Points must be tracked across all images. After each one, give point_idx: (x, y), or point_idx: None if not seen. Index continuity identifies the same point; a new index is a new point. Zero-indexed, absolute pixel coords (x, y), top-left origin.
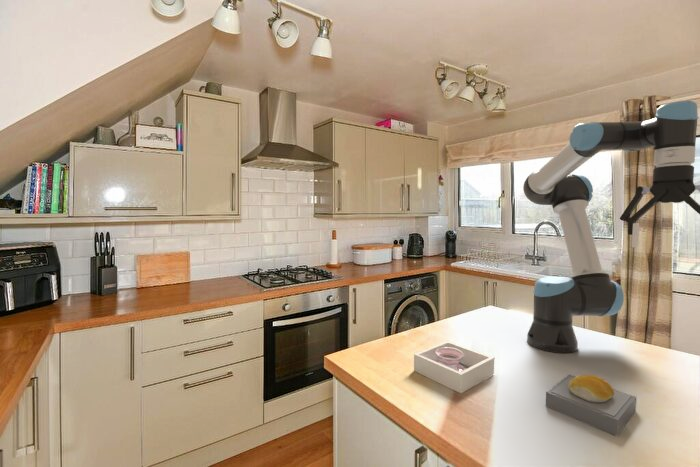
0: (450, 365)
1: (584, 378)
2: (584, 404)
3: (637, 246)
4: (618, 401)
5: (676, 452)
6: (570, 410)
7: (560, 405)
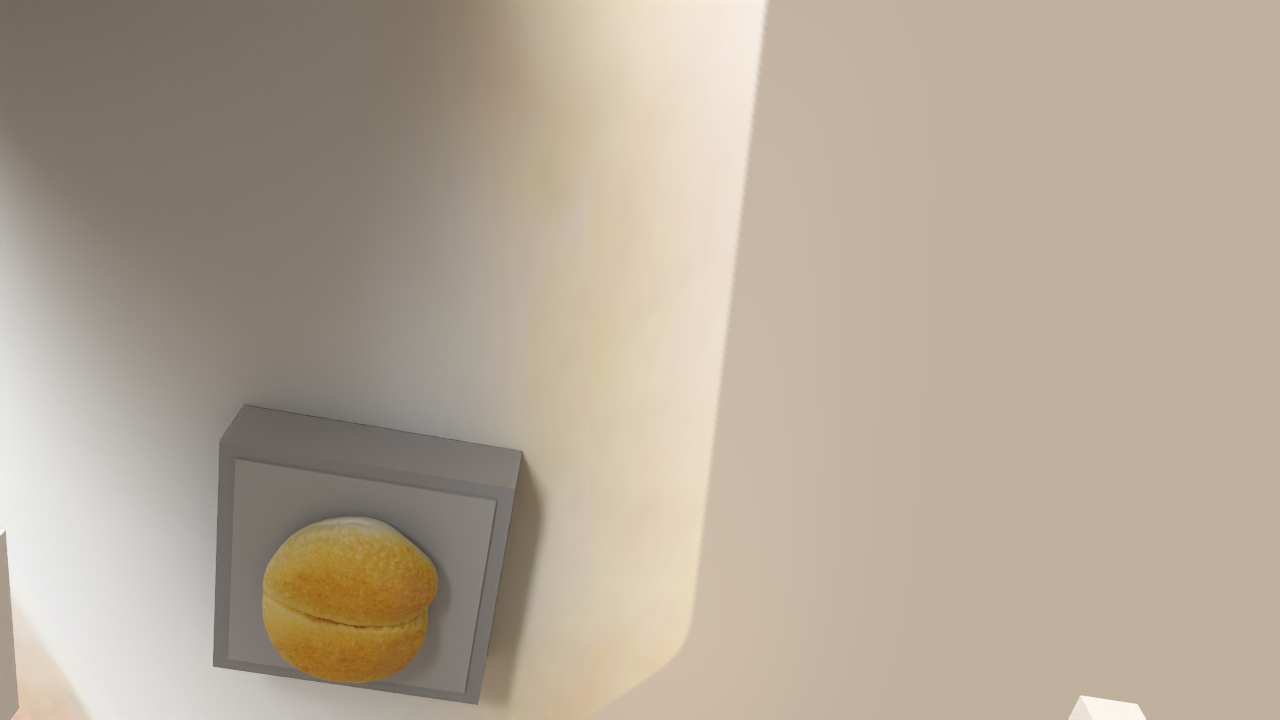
0: None
1: (315, 650)
2: None
3: (2, 570)
4: (459, 579)
5: (645, 637)
6: None
7: None
